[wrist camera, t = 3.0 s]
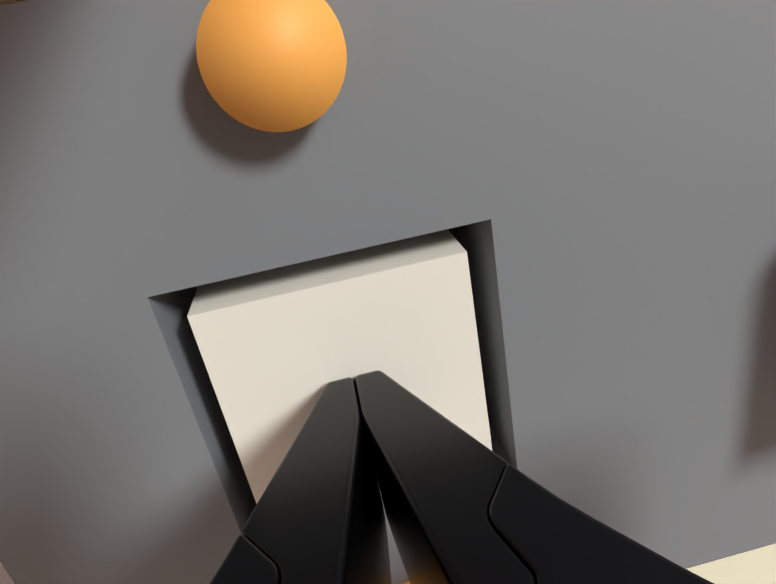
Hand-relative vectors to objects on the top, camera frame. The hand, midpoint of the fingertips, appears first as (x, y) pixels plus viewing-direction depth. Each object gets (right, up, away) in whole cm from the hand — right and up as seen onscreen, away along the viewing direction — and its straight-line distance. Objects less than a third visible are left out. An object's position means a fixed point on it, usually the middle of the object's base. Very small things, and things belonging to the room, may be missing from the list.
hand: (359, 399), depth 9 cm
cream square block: (0, +1, +2) cm, 2 cm away
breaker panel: (+4, +2, +3) cm, 6 cm away
